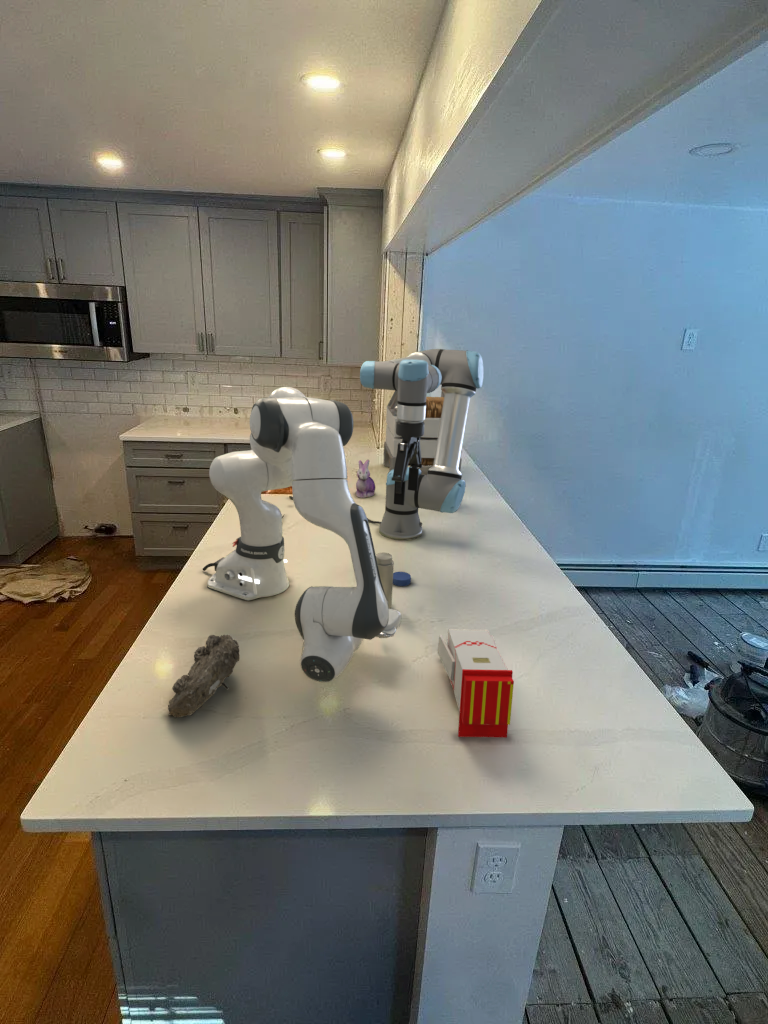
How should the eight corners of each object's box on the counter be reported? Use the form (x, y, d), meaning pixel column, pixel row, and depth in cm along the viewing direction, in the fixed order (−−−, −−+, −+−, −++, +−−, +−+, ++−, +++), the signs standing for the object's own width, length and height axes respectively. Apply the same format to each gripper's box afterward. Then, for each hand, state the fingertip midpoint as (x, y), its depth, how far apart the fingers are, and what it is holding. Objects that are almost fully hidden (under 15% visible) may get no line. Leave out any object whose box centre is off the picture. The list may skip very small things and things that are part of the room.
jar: (374, 602, 153) (376, 550, 148) (393, 604, 152) (396, 553, 147) (369, 611, 148) (371, 558, 143) (389, 614, 147) (391, 561, 142)
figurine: (360, 499, 233) (361, 464, 228) (349, 492, 242) (350, 458, 237) (380, 497, 237) (381, 462, 232) (369, 490, 246) (370, 456, 241)
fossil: (192, 637, 126) (240, 606, 121) (222, 665, 128) (270, 636, 123) (145, 711, 106) (200, 678, 101) (182, 743, 109) (237, 712, 104)
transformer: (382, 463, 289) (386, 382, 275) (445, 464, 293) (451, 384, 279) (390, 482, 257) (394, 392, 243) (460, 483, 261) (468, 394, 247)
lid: (406, 588, 161) (406, 582, 161) (387, 583, 164) (387, 577, 163) (413, 579, 166) (414, 574, 166) (395, 575, 169) (395, 569, 168)
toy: (488, 613, 130) (523, 677, 101) (484, 667, 133) (517, 744, 104) (435, 612, 130) (455, 676, 101) (432, 666, 133) (451, 743, 103)
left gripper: (392, 625, 119) (409, 596, 132) (303, 607, 125) (327, 580, 137) (391, 651, 121) (407, 619, 134) (303, 632, 127) (327, 603, 139)
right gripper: (409, 411, 162) (405, 483, 169) (382, 427, 139) (378, 508, 146) (435, 414, 159) (430, 486, 167) (411, 430, 137) (406, 512, 144)
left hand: (366, 599), depth 136 cm, fingers open, 8 cm apart
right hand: (406, 497), depth 157 cm, fingers open, 13 cm apart
